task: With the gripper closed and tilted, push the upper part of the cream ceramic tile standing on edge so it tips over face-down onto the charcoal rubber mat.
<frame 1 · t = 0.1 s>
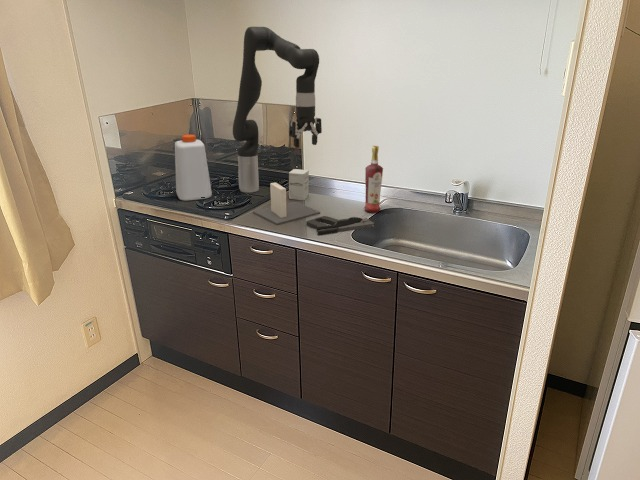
hand: (305, 146, 201), 29 cm above the worktop, tool pointing down, fingers open, 8 cm apart
plastic bottle: (194, 196, 235), on the worktop
mat: (286, 213, 214), on the worktop
tile: (278, 213, 211), point 1 cm above the worktop, touching mat
liquor: (372, 211, 218), on the worktop
supplement box: (298, 198, 234), on the worktop
pistol: (339, 226, 202), on the worktop
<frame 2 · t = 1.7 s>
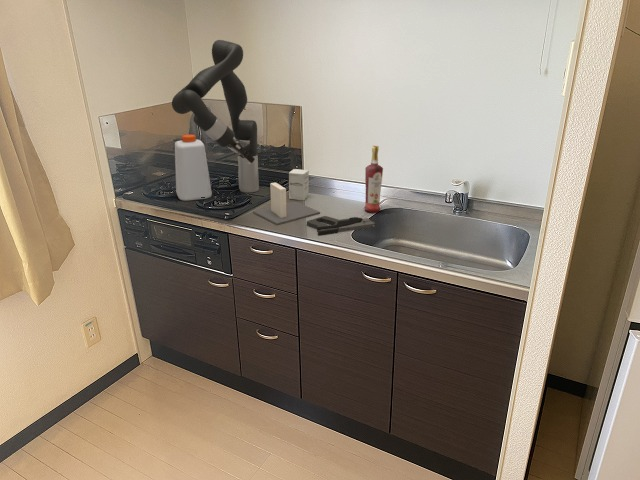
hand: (249, 158, 199), 25 cm above the worktop, tool tilted 45°, fingers open, 8 cm apart
nothing on the worktop moved.
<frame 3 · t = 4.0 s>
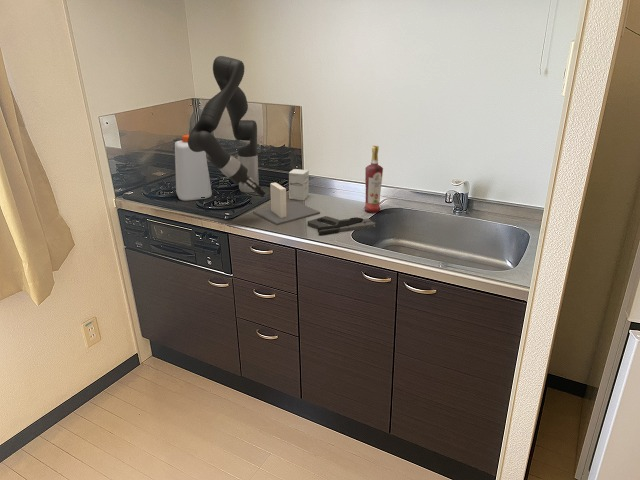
hand: (263, 194, 205), 10 cm above the worktop, tool tilted 45°, fingers closed
nothing on the worktop moved.
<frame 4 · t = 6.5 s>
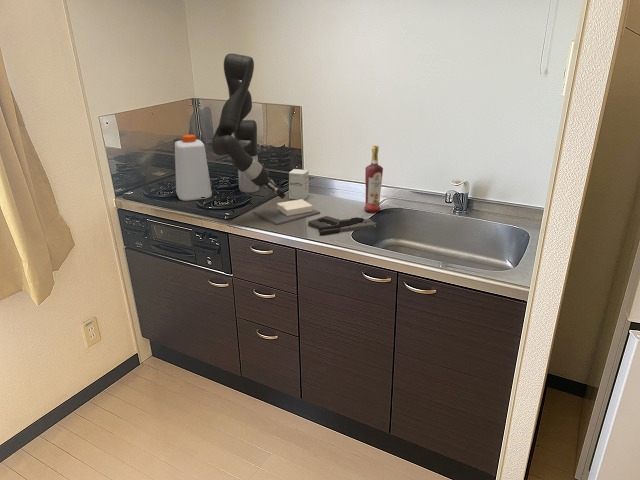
hand: (283, 196, 210), 8 cm above the worktop, tool tilted 45°, fingers closed
tile: (281, 209, 211), point 2 cm above the worktop, tilted 90°, touching mat
everything else where it was.
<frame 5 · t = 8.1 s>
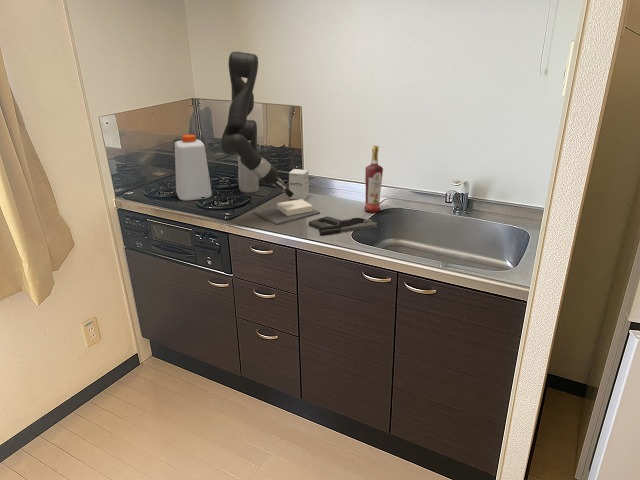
hand: (291, 195, 211), 8 cm above the worktop, tool tilted 45°, fingers closed
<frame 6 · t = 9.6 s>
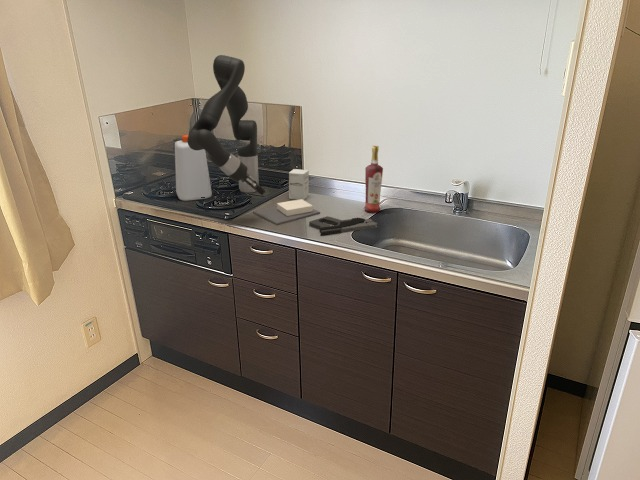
hand: (263, 192, 205), 11 cm above the worktop, tool tilted 45°, fingers closed
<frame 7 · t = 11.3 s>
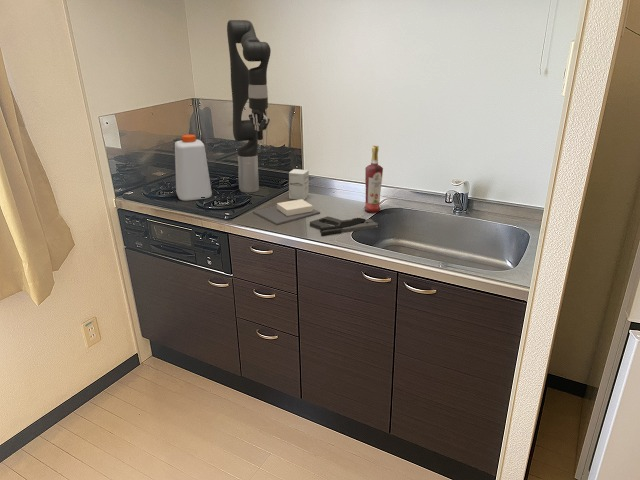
hand: (259, 139, 206), 30 cm above the worktop, tool pointing down, fingers closed
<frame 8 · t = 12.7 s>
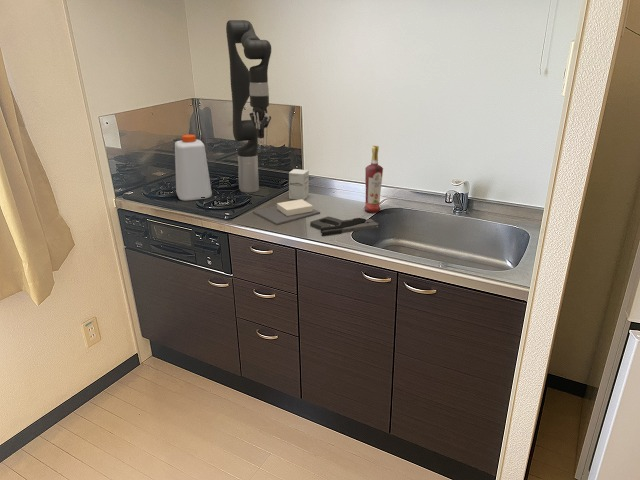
hand: (260, 137, 206), 31 cm above the worktop, tool pointing down, fingers closed
at the end: tile tilted 90°; tile inside the target area on the mat (1.5 cm from its centre), point 2.3 cm above the mat's base; tile touching mat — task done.
